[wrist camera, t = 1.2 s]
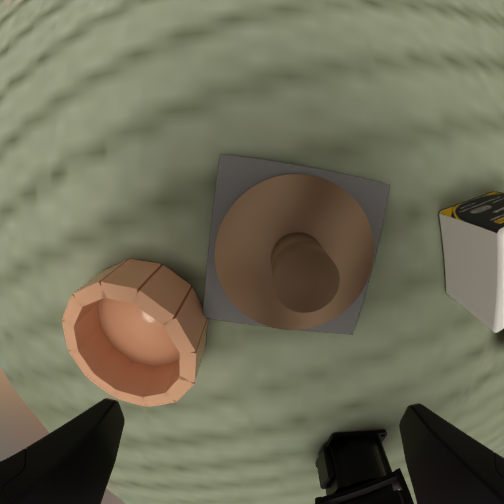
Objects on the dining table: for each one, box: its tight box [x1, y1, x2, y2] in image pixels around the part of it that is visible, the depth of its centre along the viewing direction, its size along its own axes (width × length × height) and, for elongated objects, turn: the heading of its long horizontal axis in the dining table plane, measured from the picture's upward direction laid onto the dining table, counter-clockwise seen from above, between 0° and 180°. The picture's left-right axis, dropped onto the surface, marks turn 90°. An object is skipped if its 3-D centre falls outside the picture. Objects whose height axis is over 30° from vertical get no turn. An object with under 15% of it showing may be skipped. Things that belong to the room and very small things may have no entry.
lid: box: [214, 174, 374, 330], centre depth 16 cm, size 10×10×5 cm
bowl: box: [62, 259, 208, 407], centre depth 19 cm, size 10×10×4 cm
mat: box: [203, 154, 390, 335], centre depth 19 cm, size 11×11×1 cm
